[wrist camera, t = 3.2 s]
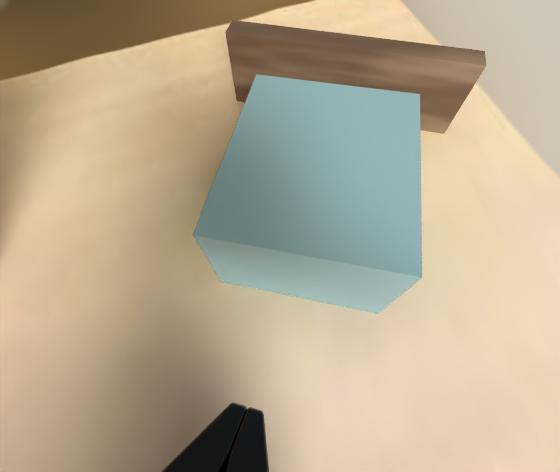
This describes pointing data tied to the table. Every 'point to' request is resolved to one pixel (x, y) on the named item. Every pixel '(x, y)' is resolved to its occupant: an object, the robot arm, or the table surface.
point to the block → (319, 194)
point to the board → (357, 65)
